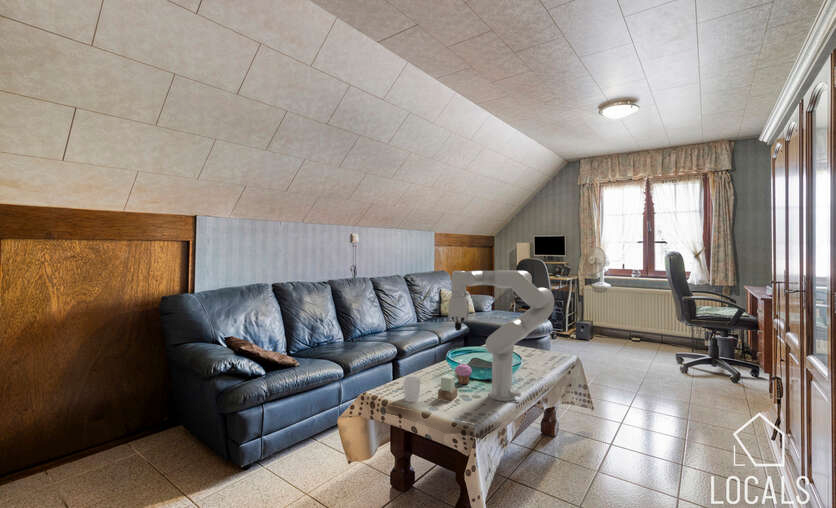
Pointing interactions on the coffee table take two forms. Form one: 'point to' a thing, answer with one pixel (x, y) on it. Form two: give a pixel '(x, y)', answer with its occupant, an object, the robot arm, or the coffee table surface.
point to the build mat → (449, 401)
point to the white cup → (411, 388)
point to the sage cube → (448, 383)
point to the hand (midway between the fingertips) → (458, 330)
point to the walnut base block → (447, 394)
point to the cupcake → (463, 373)
